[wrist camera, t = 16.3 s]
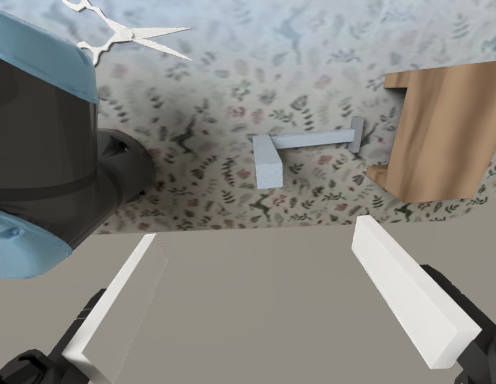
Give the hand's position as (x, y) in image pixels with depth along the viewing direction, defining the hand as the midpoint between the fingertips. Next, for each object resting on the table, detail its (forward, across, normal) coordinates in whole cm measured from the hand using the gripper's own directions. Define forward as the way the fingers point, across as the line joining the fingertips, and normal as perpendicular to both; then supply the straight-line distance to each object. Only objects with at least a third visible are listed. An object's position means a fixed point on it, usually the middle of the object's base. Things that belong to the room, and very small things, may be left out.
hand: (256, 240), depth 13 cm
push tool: (+27, +10, 0) cm, 29 cm away
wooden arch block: (+27, +28, 0) cm, 39 cm away
